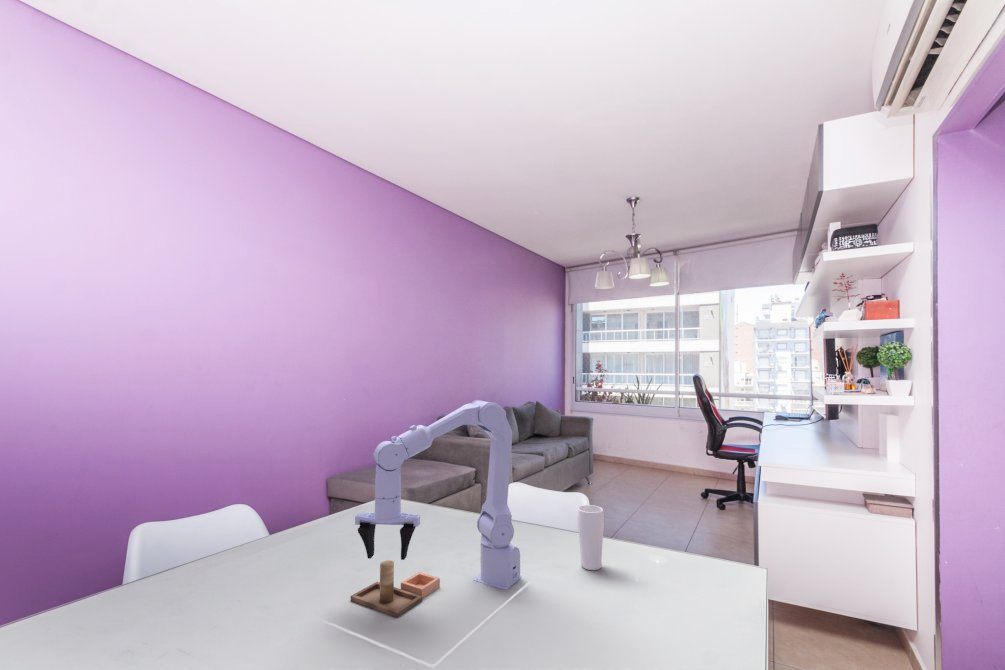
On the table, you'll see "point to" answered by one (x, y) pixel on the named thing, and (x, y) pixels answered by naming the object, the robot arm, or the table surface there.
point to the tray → (395, 608)
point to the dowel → (386, 581)
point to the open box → (421, 584)
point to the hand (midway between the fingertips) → (387, 557)
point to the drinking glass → (591, 536)
